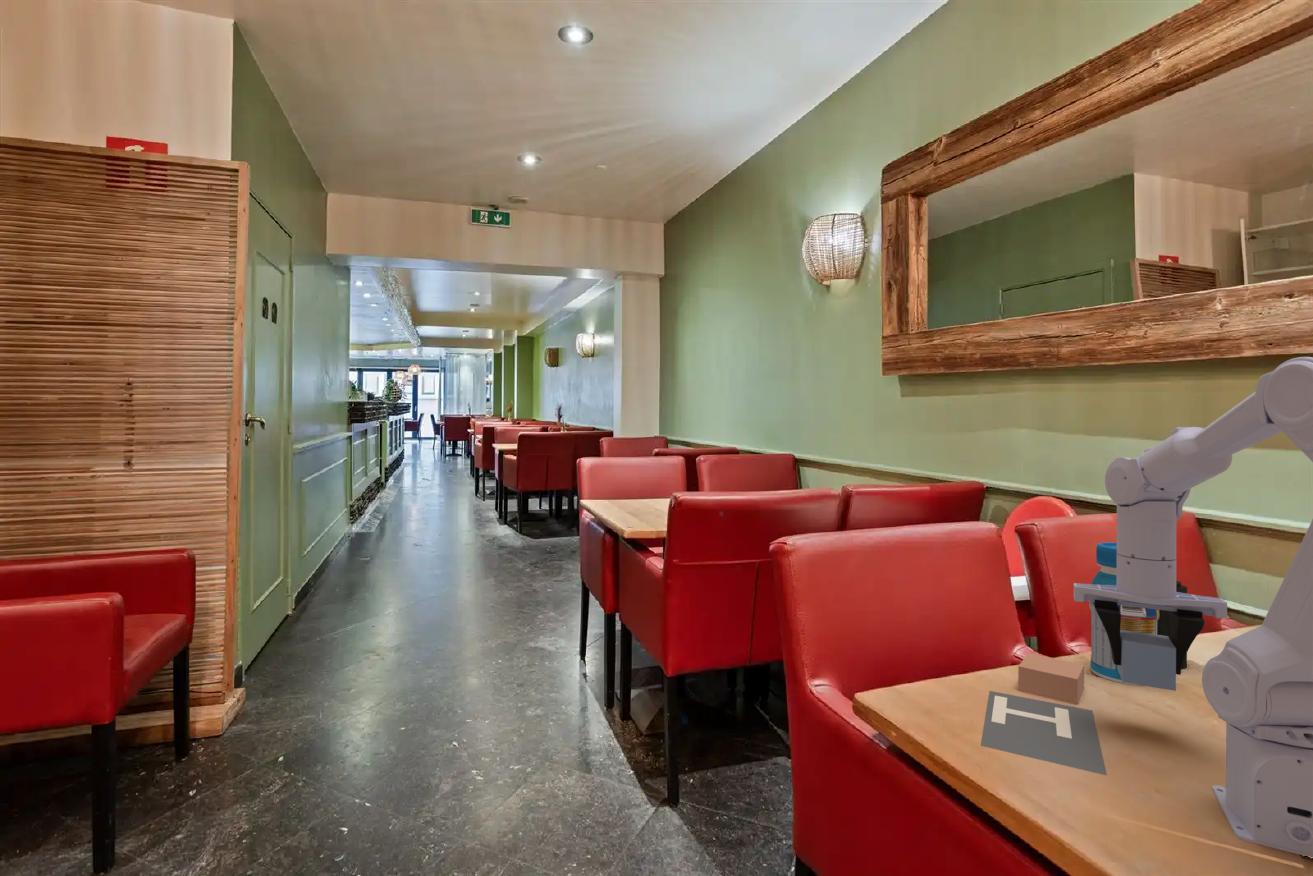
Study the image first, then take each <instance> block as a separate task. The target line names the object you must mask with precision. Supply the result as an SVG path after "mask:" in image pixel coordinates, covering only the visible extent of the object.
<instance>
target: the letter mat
mask: <svg viewBox="0 0 1313 876" xmlns="http://www.w3.org/2000/svg"><path fill="white" fill-rule="evenodd" d="M987 698H988V699H987V703H986V704H987V705H986V709H985V715H984V722H983V729H982V735H981V741H980V746H981V747H983V748H989V749H993V750H997V751H1000V752H1001V751H1002V752H1006V753H1011V754H1014V755H1019V756H1021V757H1022V756H1023V757H1027V758H1032V759H1035V760H1040V761H1044V762H1049V763H1052V764H1056V765H1060V766H1066V767H1069V768H1074V769H1078V770H1082V771H1087V772H1091V773H1095V774H1099V775H1104V776H1107V775H1108V774H1107V769H1106V765H1105V760H1104V757H1103V752H1102V747H1101V743H1100V738H1099V734H1098V730H1097V725H1096V721H1095V716H1094V711H1093V710H1092V709H1087V708H1080V707H1076V706H1071V705H1065V704H1059V703H1055V702H1051V701H1045V700H1041V699H1040V700H1039V699H1034V698H1029V697H1024V696H1018V695H1013V694H1010V693H1009V694H1008V693H1003V692H998V691H994V690H989V692H988V697H987Z"/></svg>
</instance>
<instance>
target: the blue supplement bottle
mask: <svg viewBox="0 0 1313 876" xmlns="http://www.w3.org/2000/svg"><path fill="white" fill-rule="evenodd" d="M1095 551H1096V552H1095V556H1096V561H1095V562H1096V564H1097V566H1098V567H1101V568H1100V569H1099V570H1098V571H1097V573H1096V574H1095V576H1094V577H1093V578H1092V580H1091V583H1090V584H1093V585H1116V586H1117V542H1109V541H1107V542H1099V543H1097V544H1096V548H1095ZM1088 606H1089V610H1090V611H1091V612H1090V613H1091V614H1090V615H1091V616H1090V619H1091V621H1090V623H1091V635H1090V636H1091V637H1090V638H1091V641H1090V643H1091V649H1090V651H1091V653H1090V654H1091V655H1090V663H1089V664H1090V667H1089V668H1090V670H1091V672H1092V673H1093V674H1095V675H1096V676H1097V677H1099V678H1101V679H1105V680H1108V681H1112V682H1115V683H1119V684H1124V685H1129V686H1136V687H1137V686H1138V687H1139V686H1141V687H1145V686H1144V685H1138V684H1132V683H1126V682H1122V680H1121V677H1120V674H1119V671H1118V669H1117V665H1115V664H1114V663H1113V660H1112V651H1111V646H1110V642H1109V639H1108V636H1107V633H1106V630H1105V628H1104V626H1103V624H1102V621H1101V619H1100V618H1099V616H1098V614H1097V612H1096V609H1095V607H1094V604H1093V602H1089V605H1088ZM1118 607H1119V612H1120V614H1121V624H1120V630H1125V631H1132V632H1140V633H1147V634H1155V635H1157V620H1158V619H1159V610H1158V609H1149V608H1141V607H1132V606H1124V605H1118Z"/></svg>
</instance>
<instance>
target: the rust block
mask: <svg viewBox="0 0 1313 876" xmlns="http://www.w3.org/2000/svg"><path fill="white" fill-rule="evenodd" d="M1017 668H1018V674H1017V675H1018V678H1017V679H1018V681H1017V682H1018V684H1017V685H1018V686H1017V688H1018V689H1017V690H1018V691H1020V692H1025V693H1028V694H1033V695H1036V696H1037V695H1038V696H1041V697H1044V698H1049V699H1053V700H1057V701H1061V702H1065V703H1069V704H1074V705H1078V704H1079V701H1080V699H1081V697H1082V694H1083V692H1084V689H1085V664H1082V663H1078V662H1073V661H1068V660H1063V659H1059V658H1054V657H1050V656H1049V657H1048V656H1043V655H1040V654H1039V655H1038V654H1035V653H1029V652H1028V653H1027V654H1026V655H1025V657H1024V658H1023V660H1022V661H1021V662H1020V663H1019V665H1018V666H1017Z"/></svg>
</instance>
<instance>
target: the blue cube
mask: <svg viewBox="0 0 1313 876" xmlns="http://www.w3.org/2000/svg"><path fill="white" fill-rule="evenodd" d="M1120 647H1121V665H1117V669H1118V671H1119V674H1120V677H1121V680H1122V682H1126V683H1132V684H1138V685H1144V686H1143V687H1150V688H1157V689H1162V690H1169V691H1175V692H1176V691H1177V674H1176V648H1175V646H1174V645H1173V643H1172V642H1171V640H1170V639H1169V637H1168V636H1162V635H1155V634H1147V633H1140V632H1132V631H1125V630H1120Z"/></svg>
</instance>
